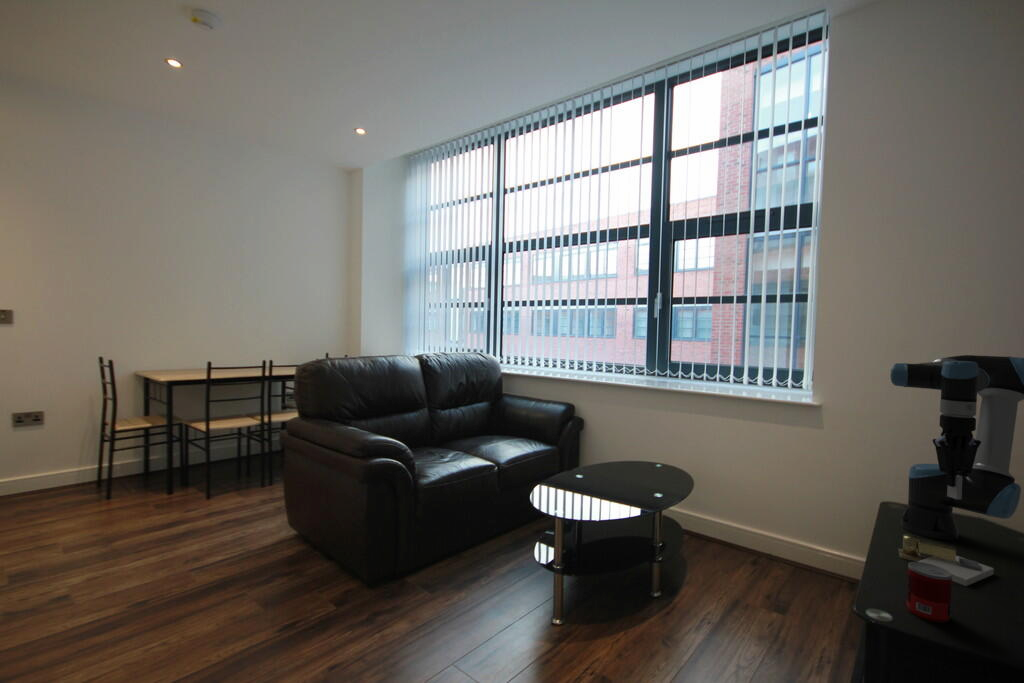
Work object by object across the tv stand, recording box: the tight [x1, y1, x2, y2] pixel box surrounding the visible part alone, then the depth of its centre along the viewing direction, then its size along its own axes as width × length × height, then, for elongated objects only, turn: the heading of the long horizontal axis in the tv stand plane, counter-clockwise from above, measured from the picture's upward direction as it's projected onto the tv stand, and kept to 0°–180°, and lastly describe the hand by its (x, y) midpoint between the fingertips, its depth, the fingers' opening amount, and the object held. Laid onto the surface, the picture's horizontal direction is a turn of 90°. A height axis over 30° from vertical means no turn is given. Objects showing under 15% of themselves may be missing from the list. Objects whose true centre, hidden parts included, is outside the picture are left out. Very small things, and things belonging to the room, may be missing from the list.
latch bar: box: [902, 534, 957, 561], centre depth 142 cm, size 12×4×5 cm, turn 53°
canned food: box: [906, 561, 953, 624], centre depth 115 cm, size 8×8×11 cm
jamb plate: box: [898, 548, 923, 562], centre depth 145 cm, size 5×5×1 cm
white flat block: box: [918, 555, 995, 587], centre depth 137 cm, size 16×11×3 cm
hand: (954, 497), depth 135 cm, fingers closed
